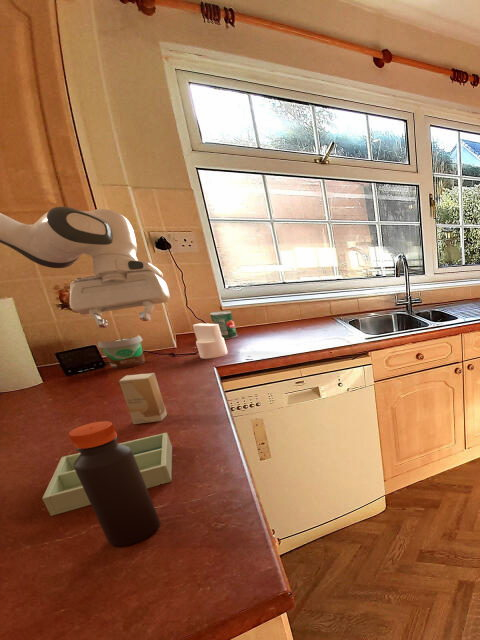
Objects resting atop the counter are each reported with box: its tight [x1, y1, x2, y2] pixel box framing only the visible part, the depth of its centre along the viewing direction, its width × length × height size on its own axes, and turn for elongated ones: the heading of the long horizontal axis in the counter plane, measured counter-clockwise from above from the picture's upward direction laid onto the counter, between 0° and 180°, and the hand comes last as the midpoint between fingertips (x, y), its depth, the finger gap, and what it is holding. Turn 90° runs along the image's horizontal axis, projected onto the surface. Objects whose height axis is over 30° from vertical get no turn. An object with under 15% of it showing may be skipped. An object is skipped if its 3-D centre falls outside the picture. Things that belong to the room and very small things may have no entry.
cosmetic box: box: [118, 372, 168, 425], centre depth 109 cm, size 6×4×12 cm
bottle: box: [68, 420, 161, 547], centre depth 68 cm, size 7×7×20 cm
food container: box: [97, 334, 146, 369], centre depth 151 cm, size 12×6×10 cm, turn 147°
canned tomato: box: [209, 310, 238, 340], centre depth 186 cm, size 8×8×11 cm
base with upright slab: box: [192, 322, 229, 360], centre depth 162 cm, size 9×9×12 cm
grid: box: [41, 432, 173, 517], centre depth 86 cm, size 17×17×4 cm
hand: (124, 323), depth 106 cm, fingers open, 8 cm apart
